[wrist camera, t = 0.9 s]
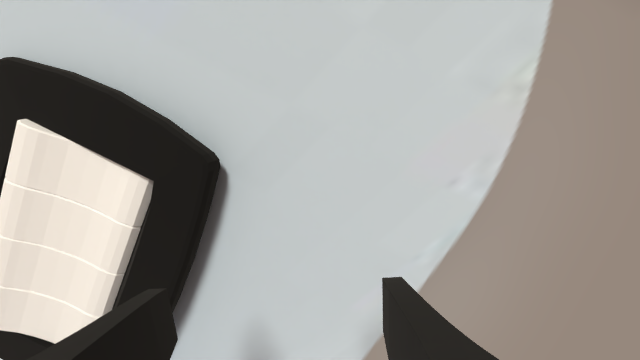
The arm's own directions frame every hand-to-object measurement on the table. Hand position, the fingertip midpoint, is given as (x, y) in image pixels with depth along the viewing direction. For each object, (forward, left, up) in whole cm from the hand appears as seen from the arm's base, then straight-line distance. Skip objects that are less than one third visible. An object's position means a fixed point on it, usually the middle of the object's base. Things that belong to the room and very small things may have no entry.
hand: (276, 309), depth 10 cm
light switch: (-1, +14, -9) cm, 16 cm away
